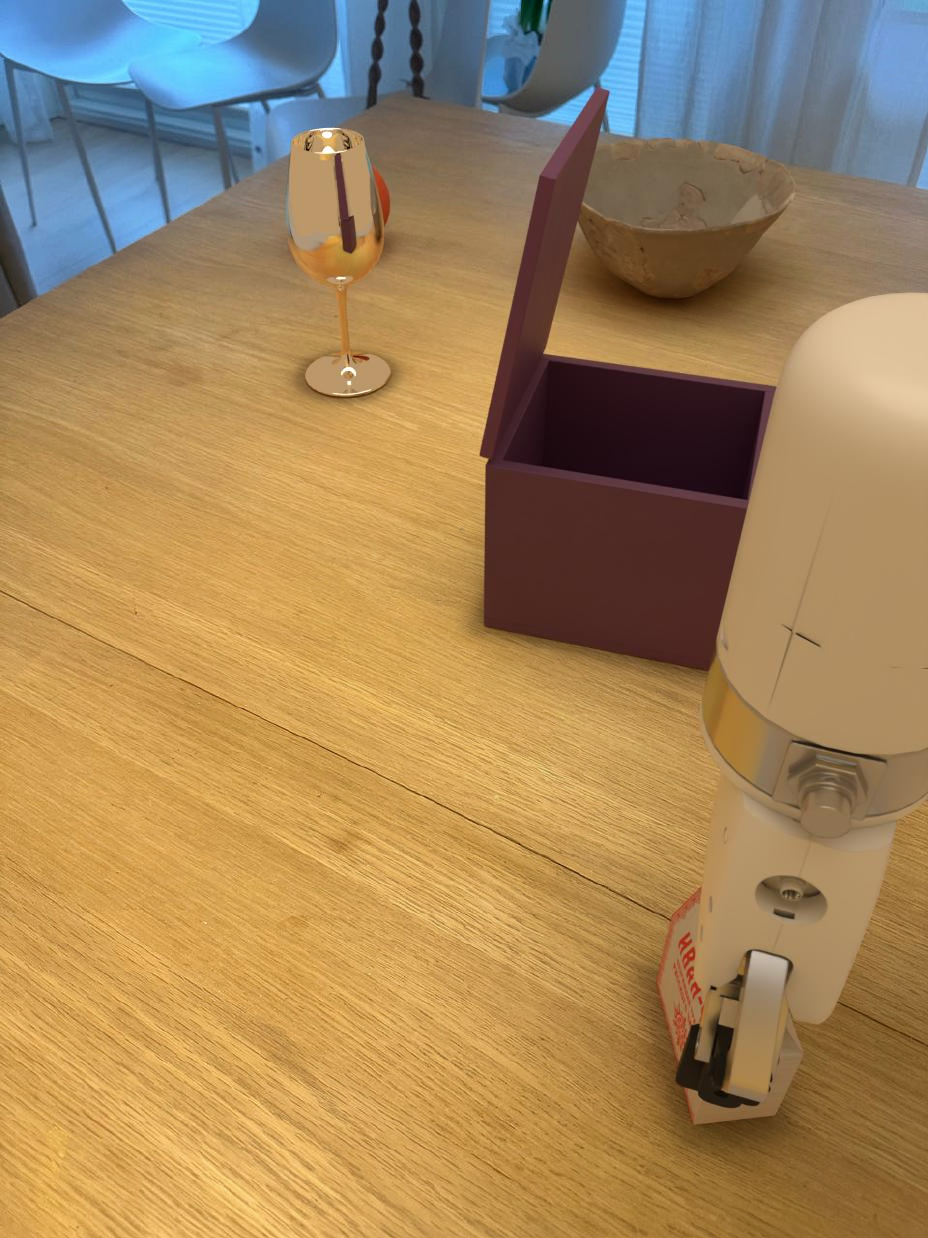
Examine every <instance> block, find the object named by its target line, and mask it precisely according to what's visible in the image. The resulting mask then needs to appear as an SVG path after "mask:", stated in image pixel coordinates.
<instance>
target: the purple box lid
mask: <svg viewBox="0 0 928 1238" xmlns="http://www.w3.org/2000/svg"><path fill="white" fill-rule="evenodd" d="M610 91H611V90H609V89H605V88H603V87H602V88H601V87H598V86H597V87H595V89H594V90H593V92H592V94H591V95H590V97H589V99H588V100H587V102H586V103H585V104H584V106H583V108H582V109H581V111H580V113H579V114H578V115H577V116H576V118H575V120H574V122H573V123H572V124H571V126H570V128H569V129H568V131H567V132H566V134H565V135H564V137H563V138H562V140H561V142H560V143H559V145H558V146H557V147H556V149H555V150H554V153H553V154H552V156H551V157H550V159H549V160H548V161H547V163H546V165H545V167H544V168H543V169H542V171H541V172H540V174H539V177H538V182H537V187H536V190H535V195H534V200H533V204H532V209H531V214H530V219H529V223H528V226H527V231H526V237H525V241H524V245H523V251H522V255H521V259H520V264H519V269H518V274H517V279H516V283H515V287H514V292H513V297H512V302H511V306H510V310H509V316H508V320H507V325H506V329H505V333H504V338H503V343H502V348H501V352H500V357H499V361H498V365H497V371H496V376H495V380H494V385H493V390H492V394H491V397H490V403H489V408H488V411H487V412H488V413H487V417H486V422H485V426H484V430H483V436H482V439H481V440H482V441H481V443H480V444H481V445H480V449H479V457H481V458H484V459H487V460H488V459H490V460H492V459H493V457H494V455H495V453H496V450H497V448H498V446H499V444H500V442H501V440H502V438H503V436H504V434H505V432H506V430H507V428H508V426H509V423H510V421H511V419H512V417H513V415H514V413H515V411H516V409H517V407H518V405H519V403H520V401H521V399H522V396H523V394H524V392H525V390H526V388H527V386H528V384H529V382H530V380H531V378H532V376H533V374H534V372H535V369H536V367H537V365H538V363H539V361H540V359H541V357H542V355H543V354H545V353H544V352H545V351H546V348H547V345H548V341H549V338H550V334H551V329H552V325H553V321H554V317H555V314H556V310H557V306H558V301H559V297H560V293H561V289H562V285H563V281H564V278H565V274H566V268H567V266H568V262H569V257H570V253H571V250H572V249H571V248H572V245H573V242H574V237H575V233H576V230H577V225H578V218H579V214H580V210H581V206H582V202H583V198H584V194H585V190H586V186H587V182H588V178H589V174H590V170H591V166H592V162H593V158H594V154H595V150H596V147H598V146H597V145H598V141H599V137H600V133H601V129H602V125H603V121H604V118H605V113H606V109H607V105H608V102H609V98H610V93H611V92H610Z"/></svg>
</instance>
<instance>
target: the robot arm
mask: <svg viewBox="0 0 928 1238" xmlns="http://www.w3.org/2000/svg"><path fill="white" fill-rule="evenodd" d="M776 386H777V387H776V391H775V394H774V398H773V402H772V406H771V411H770V415H769V419H768V423H767V428H766V432H765V436H764V440H763V444H762V449H761V453H760V457H759V461H758V466H757V470H756V474H755V478H754V482H753V487H752V491H751V495H750V499H749V504H748V508H747V512H746V516H745V521H744V525H743V529H742V533H741V537H740V542H739V546H738V550H737V554H736V559H735V563H734V567H733V571H732V576H731V580H730V584H729V588H728V593H727V597H726V601H725V605H724V610H723V614H722V618H721V622H720V626H719V629H718V634H717V638H716V642H715V646H714V650H713V654H712V659H711V663H710V667H709V671H708V670H707V671H708V672H707V676H706V680H705V683H704V689H703V692H702V696H701V700H700V704H699V711H698V720H699V730H700V734H701V735H700V736H701V738H702V740H703V743H704V745H705V748H706V750H707V753H708V755H710V757H711V759H712V761H713V762H714V764H715V766H717V767H718V769H719V771H720V772H719V775H718V780H717V785H716V789H715V794H714V799H713V806H712V811H711V815H710V822H709V828H708V834H707V841H706V848H705V856H704V863H703V871H702V880H701V886H702V890H701V900H700V909H699V919H698V929H697V941H696V953H695V965H694V979H695V981H696V983H697V984H698V986H699V987H700V989H701V990H702V991H703V992H704V993H705V994H706V998H705V1003H704V1008H703V1012H702V1017H701V1022H700V1024H695V1025H692V1024H691V1027H690V1030H689V1033H688V1036H687V1039H686V1042H685V1045H684V1048H683V1051H682V1054H681V1057H680V1060H679V1064H677V1067H676V1073H675V1078H674V1079H675V1080H674V1081H675V1083H676V1085H678V1086H680V1087H682V1088H684V1087H685V1088H688V1089H692V1090H695V1091H698V1096H699V1097H700V1098H701V1099H702V1100H704V1101H706V1102H708V1103H711V1104H714V1105H717V1106H721V1107H725V1108H737V1107H740V1106H741V1104H744V1105H747V1106H757V1105H759V1103H760V1102H761V1103H765V1102H766V1099H767V1096H768V1092H770V1090H771V1088H770V1082H772V1081H773V1079H774V1077H775V1073H776V1069H777V1066H778V1064H779V1059H780V1051H781V1046H782V1042H783V1037H784V1033H785V1028H786V1024H787V1019H788V1015H789V1013H790V1015H791V1018H793V1021H795V1022H800V1023H804V1024H805V1023H806V1024H811V1025H820V1024H822V1023H823V1022H825V1021H826V1020H827V1019H828V1018H829V1017H830V1016H832V1014H833V1012H834V1010H835V1008H836V1006H837V1004H838V1001H839V998H840V996H841V994H842V991H843V989H844V987H845V984H846V982H847V979H848V977H849V975H850V972H851V971H852V968H853V965H854V963H855V960H856V957H857V955H858V953H859V950H860V948H861V945H862V943H863V940H864V938H865V935H866V932H867V929H868V926H869V924H870V921H871V920H872V919H871V918H872V916H873V913H874V910H875V907H876V904H877V901H878V898H879V896H880V895H879V894H880V892H881V888H882V885H883V881H884V878H885V874H886V871H887V868H888V864H889V861H890V856H891V852H892V847H893V843H894V838H895V835H896V831H897V830H896V829H897V824H898V820H900V819H902V818H905V817H907V816H909V815H910V814H912V813H913V812H914V811H915V810H917V809H918V808H920V807H921V806H922V805H923V804H924V803H925V802H926V800H928V292H895V293H894V292H893V293H885V294H878V295H872V296H868V297H864V298H860V299H857V300H853V301H850V302H849V303H846V304H843V305H841V306H839V307H837V308H835V309H832V310H831V311H829V312H826V313H825V314H823V315H822V316H820V317H819V318H818V319H817V320H815V322H813V323H812V324H811V325H810V326H809V327H808V328H807V329H806V330H805V331H803V332H802V334H801V335H800V336H799V337H798V338H797V340H796V341H795V343H794V344H793V346H792V348H791V349H790V351H789V353H788V355H787V357H786V359H785V361H784V363H783V365H782V368H781V371H780V375H779V377H778V381H777V384H776ZM744 957H745V958H746V961H745V967H744V973H743V975H741V974H738V972H739V969H740V966H741V963H742V960H743V958H744ZM724 998H728V999H732V1000H736V1001H739V1003H738V1009H737V1015H736V1021H735V1026H734V1028H731V1027H728V1026H724V1025H720V1024H719V1019H720V1014H721V1010H722V1005H723V1000H724Z"/></svg>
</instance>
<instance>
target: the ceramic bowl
mask: <svg viewBox="0 0 928 1238" xmlns="http://www.w3.org/2000/svg"><path fill="white" fill-rule="evenodd" d="M797 188H798V187H797V185H796V182H795V180H794V178H793V176H792V175H791V173H790V171H789V170H788V169H787V167H786V166H785V165H784V164H782V163H781V162H779V161H777V160H775V159H773V158H769V159H768V157H767V156H766V155H764V154H758V153H755V152H753V151H750V150H749V149H745V148H742V147H740V146H735V145H732V144H729V143H725V142H724V143H723V142H717V141H714V140H709V141H708V140H703V139H700V140H698V141H697V140H696V139H695V138H677V139H675V138H671V137H663V138H662V137H660V138H658V137H657V138H656V137H655V138H650V139H648V140H647V141H645V140H644V139H630V140H624V141H619V142H614V143H608V142H607V143H604V144H602V145H598V146H596V150H595V154H594V158H593V162H592V166H591V170H590V174H589V178H588V182H587V186H586V190H585V194H584V198H583V202H582V206H581V210H580V214H579V218H578V222H577V224H578V225H579V227H580V229H581V232H582V234H583V237H584V240H585V241H586V242H587V244H588V246H589V247H590V249H591V250H592V252H593V254H594V255H595V257H596V259H598V261H599V262H600V263H601V264H602V265H603V267H604V268H605V269H606V270H608V271H609V272H610V274H612V275H614V277H617V278H618V279H620V280H621V281H623V282H625V283H626V284H628V285H629V286H631V287H633V288H635V289H637V290H638V291H640V292H642V293H644V294H645V295H648V296H650V297H653V298H660V299H685V298H690V297H694V296H695V295H697V294H700V293H701V292H703V291H705V290H708V289H709V288H711V286H713V285H715V284H716V283H717V282H720V281H721V280H724V278H726V277H727V276H729V275H730V274H731V273H732V272H733V271H734V270H735V269H736V268H737V266H739V264H740V263H741V262H743V260H744V259H745V258H746V256H747V255H748V254H750V252H751V251H752V250H753V249H754V248H755V246H756V245H757V244H758V242H759V241H760V239H761V238H762V237H763V235H764V234H765V233H766V232H767V231H768V229H769V228H770V227H771V226H772V225H774V223H775V222H776V221H777V220H778V219H780V217H781V215H782V214H783V213H784V211H785V210H786V209H787V208H788V207H789V206H790V204H791V203H792V202H793V200H794V199H795V197H796V194H797V190H798V189H797Z"/></svg>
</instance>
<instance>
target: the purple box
mask: <svg viewBox="0 0 928 1238" xmlns="http://www.w3.org/2000/svg"><path fill="white" fill-rule="evenodd" d="M776 387H777V385H770V384H762V383H756V382H749V381H743V380H734V379H728V378H721V377H713V376H706V375H698V374H691V373H685V372H677V371H671V370H670V371H669V370H664V369H663V370H662V369H656V368H649V367H642V366H634V365H627V364H621V363H613V362H608V361H607V362H606V361H599V360H592V359H586V358H585V359H584V358H577V357H570V356H564V355H555V354H549V353H543V355H542V357H541V359H540V361H539V363H538V365H537V367H536V369H535V372H534V374H533V376H532V378H531V380H530V382H529V384H528V386H527V388H526V390H525V392H524V394H523V396H522V399H521V401H520V403H519V405H518V407H517V409H516V411H515V413H514V415H513V417H512V419H511V421H510V423H509V426H508V428H507V430H506V432H505V434H504V436H503V438H502V440H501V442H500V444H499V446H498V448H497V450H496V453H495V455H494V457H493V459H492V460H490V459H487V461H486V463H485V465H484V466H485V469H484V471H485V473H484V479H485V480H484V548H483V549H484V552H483V553H484V555H483V556H484V561H483V563H484V564H483V627H486V628H491V629H496V630H501V631H507V632H511V633H516V634H520V635H521V634H522V635H526V636H532V637H536V638H541V639H547V640H552V641H556V642H561V643H562V642H563V643H567V644H572V645H577V646H582V647H587V648H592V649H597V650H602V651H608V652H612V653H617V654H622V655H627V656H631V657H632V656H633V657H638V658H643V659H647V660H653V661H658V662H663V663H667V664H673V665H678V666H683V667H688V668H693V669H699V670H703V671H709V667H710V663H711V659H712V654H713V650H714V646H715V642H716V638H717V634H718V629H719V626H720V622H721V618H722V614H723V610H724V605H725V601H726V597H727V593H728V588H729V584H730V580H731V576H732V571H733V567H734V563H735V559H736V554H737V550H738V546H739V542H740V537H741V533H742V529H743V525H744V521H745V516H746V512H747V508H748V504H749V499H750V495H751V491H752V487H753V482H754V478H755V474H756V470H757V466H758V461H759V457H760V453H761V449H762V444H763V440H764V436H765V432H766V428H767V423H768V419H769V415H770V411H771V406H772V402H773V398H774V394H775V391H776Z"/></svg>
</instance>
